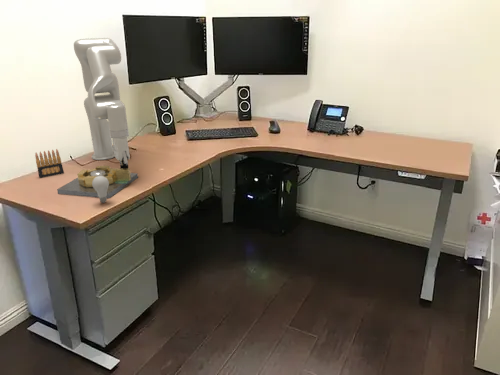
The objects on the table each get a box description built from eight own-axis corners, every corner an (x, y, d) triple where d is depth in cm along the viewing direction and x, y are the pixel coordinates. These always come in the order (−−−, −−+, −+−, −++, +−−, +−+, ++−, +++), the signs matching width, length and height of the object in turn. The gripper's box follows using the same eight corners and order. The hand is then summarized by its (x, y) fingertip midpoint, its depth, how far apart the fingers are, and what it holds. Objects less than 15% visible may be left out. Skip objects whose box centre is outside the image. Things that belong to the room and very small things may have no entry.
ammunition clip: (39, 178, 193) (33, 153, 189) (38, 177, 195) (33, 152, 190) (64, 173, 198) (59, 149, 194) (63, 172, 200) (58, 148, 195)
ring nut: (135, 173, 189) (133, 163, 187) (125, 186, 175) (123, 175, 173) (88, 174, 190) (86, 163, 188) (74, 187, 175) (72, 176, 173)
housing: (91, 174, 197) (89, 161, 194) (140, 177, 191) (138, 165, 188) (58, 193, 175) (55, 180, 173) (111, 198, 169) (109, 184, 167)
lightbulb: (113, 199, 169) (109, 173, 165) (109, 205, 163) (105, 179, 159) (98, 199, 169) (93, 173, 164) (93, 205, 163) (88, 179, 159)
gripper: (106, 130, 184) (112, 169, 191) (114, 138, 172) (120, 180, 179) (124, 128, 187) (129, 167, 194) (132, 135, 175) (137, 176, 182)
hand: (125, 173), depth 187 cm, fingers closed
